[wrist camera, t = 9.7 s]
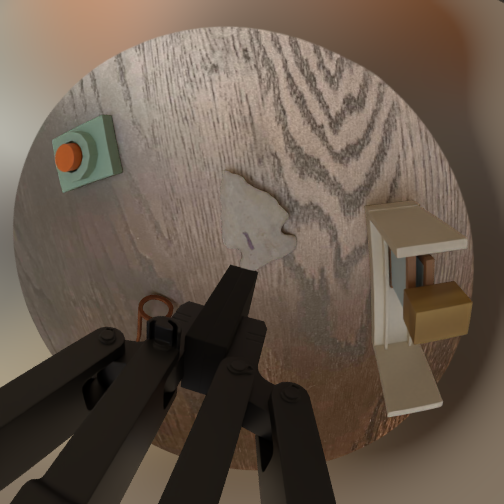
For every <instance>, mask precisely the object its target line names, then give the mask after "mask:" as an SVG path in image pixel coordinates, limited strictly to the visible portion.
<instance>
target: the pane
mask: <svg viewBox="0 0 504 504" xmlns="http://www.w3.org/2000/svg"><path fill="white" fill-rule="evenodd" d="M471 309H472V301H471V300H470V299H469V297H468V296H467V295H466V294H465V293H464V292H463V290H462V289H461V288H460V287H459V286H458V285H457V283H456V282H455V281H451V282H445V283H439V284H434V258H433V257H432V256H431V255H430V254H425V255H418V256H416V287H415V288H408V289H404V298H403V320H404V323H405V325H406V327H407V330H408V332H409V334H410V337H411V339H412V342H413V344H414V345H416V344H422V343H427V342H432V341H437V340H442V339H447V338H451V337H456V336H460V335H465V334H467V333H468V328H469V322H470V316H471Z"/></svg>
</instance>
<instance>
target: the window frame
mask: <svg viewBox="0 0 504 504" xmlns="http://www.w3.org/2000/svg"><path fill="white" fill-rule="evenodd" d="M365 214H366V224H367V235H368V247H369V262H370V280H371V311H372V345H373V349H374V352H375V356H376V361H377V365H378V370H379V375H380V379H381V384H382V389H383V394H384V399H385V405H386V410H387V416H388V417H392V416H398V415H403V414H409V413H414V412H418V411H423V410H428V409H433V408H437V407H441V406H442V402H443V401H442V398H441V396H440V393H439V390H438V388H437V385H436V382H435V380H434V377H433V375H432V372H431V370H430V367H429V365H428V362H427V360H426V357H425V355H424V353H423V350H422V348H421V346H420V344H416V345H414V344H413V342H412V339H411V337H410V334H409V332H408V330H407V327H406V325H405V323H404V320H403V298H404V289H408V288H415V287H416V256H418V255H425V254H432V253H438V252H445V251H452V250H458V249H465V248H467V242H468V239H467V238H466V237H465V236H464V235H462V234H461V233H459V232H458V231H456V230H455V229H454V228H452V227H451V226H449V225H448V224H446V223H445V222H443V221H442V220H440V219H439V218H437V217H436V216H434V215H433V214H431V213H430V212H428V211H427V210H425V209H424V208H422V207H420V204H418V203H417V202H415V201H413V200H412V201H403V202H394V203H386V204H377V205H369V206H365Z"/></svg>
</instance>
